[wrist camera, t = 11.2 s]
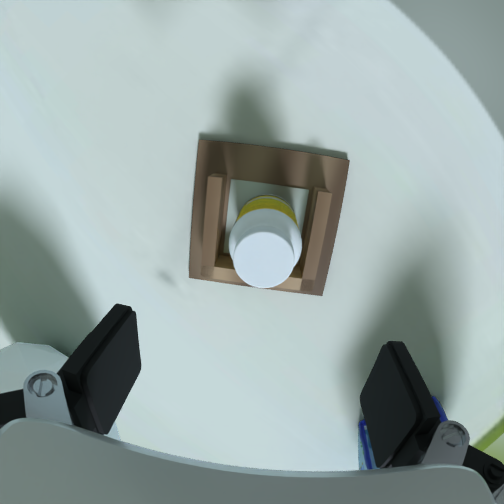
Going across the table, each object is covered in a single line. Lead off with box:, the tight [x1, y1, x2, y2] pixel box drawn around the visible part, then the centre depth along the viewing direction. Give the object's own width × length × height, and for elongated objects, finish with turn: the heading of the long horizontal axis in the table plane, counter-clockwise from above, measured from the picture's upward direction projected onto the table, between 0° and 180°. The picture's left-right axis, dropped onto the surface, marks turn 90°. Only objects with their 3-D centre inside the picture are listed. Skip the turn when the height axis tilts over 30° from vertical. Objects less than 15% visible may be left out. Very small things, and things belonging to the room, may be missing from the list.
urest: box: [189, 140, 350, 296], centre depth 28 cm, size 14×14×4 cm
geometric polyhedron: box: [0, 342, 121, 441], centre depth 29 cm, size 24×25×25 cm
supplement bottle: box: [229, 194, 302, 288], centre depth 24 cm, size 5×5×10 cm
